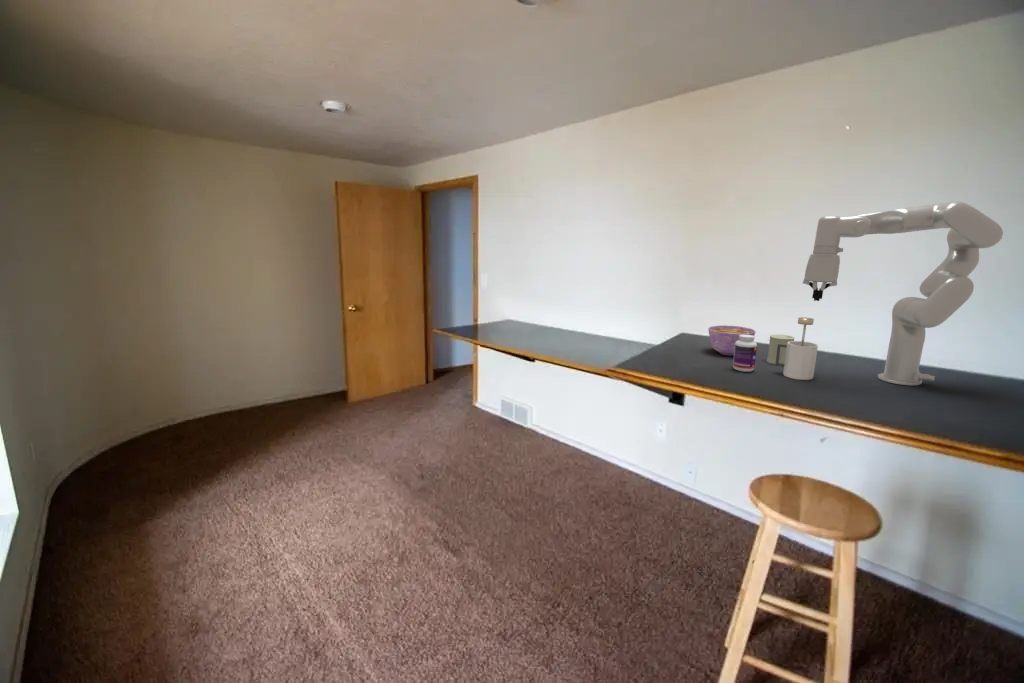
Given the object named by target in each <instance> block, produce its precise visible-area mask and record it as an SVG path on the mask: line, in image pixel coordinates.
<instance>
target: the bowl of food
mask: <svg viewBox="0 0 1024 683" xmlns="http://www.w3.org/2000/svg"><path fill="white" fill-rule="evenodd" d="M707 330H708V335H709V336H708V337H709V341H710V342H709V343H710V345H711V347H712V349H713V350H715V351H717V352H718V353H719V354H721V355H724V356H731V357H732V356H733V357H734V350H735V343H736V341H738V340H740V339H739V335H752V336H754V337H755V335H756V332H757V331H756V330H755V329H753V328H750V327H744V326H740V325H739V326H737V325H713V326H708V328H707Z"/></svg>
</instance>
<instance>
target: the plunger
mask: <svg viewBox="0 0 1024 683" xmlns="http://www.w3.org/2000/svg"><path fill="white" fill-rule="evenodd" d="M814 322H815V319H814V318H811V317H798V318H797V324H798V325H803V328H802V337H801V341H802V342H801V346H804V342H805V338H806V330H807V326H812V325H814Z"/></svg>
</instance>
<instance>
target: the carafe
mask: <svg viewBox="0 0 1024 683" xmlns="http://www.w3.org/2000/svg"><path fill="white" fill-rule="evenodd" d="M801 342H802V340H799V341H798V340H794V341H790V342H788V343H787V344H780V343H778V347H777V355H776V363H775V364H774V366H775V367H782V368H783V373H782V375H783V376H784V377H786V378H790V379H794V380H800V381H810V380H813V379H814V375H815V367H816V360H817V354H818V346H819V344H817V343H814V342H810V341H804V346H801ZM781 347H786V348H787V349H786V357H785V364H783V363H779V358H780V350H781Z"/></svg>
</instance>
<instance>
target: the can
mask: <svg viewBox="0 0 1024 683" xmlns="http://www.w3.org/2000/svg"><path fill="white" fill-rule="evenodd" d="M790 341H795V337H794V336H792V335H787V334H770V335H769V343H768V353H767V358H766V362H767V363H769V364H772V365H775V363H776V355H777V347H778V343H780V344H787V343H788V342H790ZM786 349H787V348H786V347H781V350H780V358H779V363H783V364H785V357H786Z"/></svg>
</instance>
